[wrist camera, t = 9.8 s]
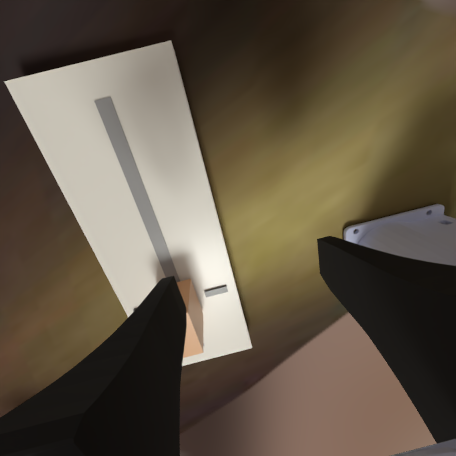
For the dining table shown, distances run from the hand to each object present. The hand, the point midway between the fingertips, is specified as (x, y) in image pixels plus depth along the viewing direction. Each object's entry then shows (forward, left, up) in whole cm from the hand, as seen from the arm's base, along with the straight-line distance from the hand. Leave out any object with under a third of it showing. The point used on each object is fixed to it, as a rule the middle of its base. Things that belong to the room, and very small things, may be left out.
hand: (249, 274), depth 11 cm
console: (+6, +1, -9) cm, 11 cm away
